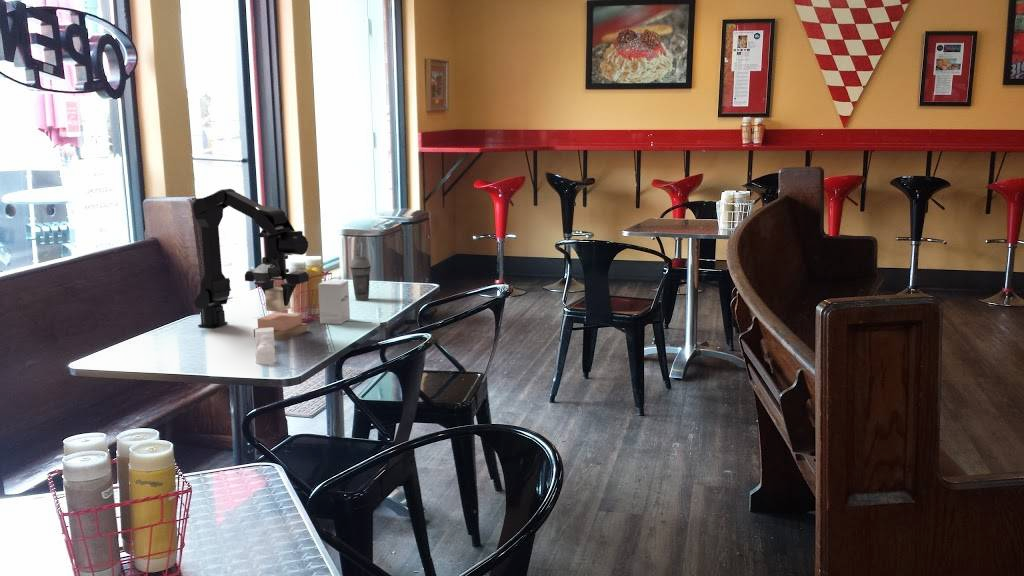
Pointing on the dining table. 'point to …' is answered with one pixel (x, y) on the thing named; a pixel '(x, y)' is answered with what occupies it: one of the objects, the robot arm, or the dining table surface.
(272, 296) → the birch cube
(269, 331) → the container set
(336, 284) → the supplement box
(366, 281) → the beverage cup
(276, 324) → the terracotta top slab
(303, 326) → the walnut base slab
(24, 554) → the dining table surface
